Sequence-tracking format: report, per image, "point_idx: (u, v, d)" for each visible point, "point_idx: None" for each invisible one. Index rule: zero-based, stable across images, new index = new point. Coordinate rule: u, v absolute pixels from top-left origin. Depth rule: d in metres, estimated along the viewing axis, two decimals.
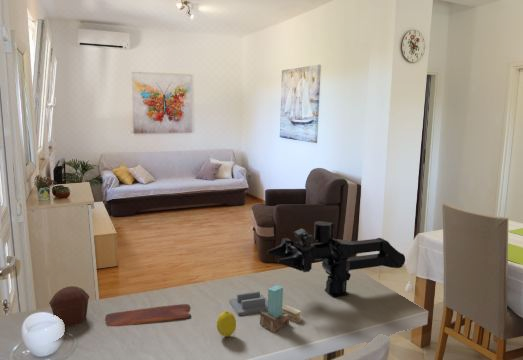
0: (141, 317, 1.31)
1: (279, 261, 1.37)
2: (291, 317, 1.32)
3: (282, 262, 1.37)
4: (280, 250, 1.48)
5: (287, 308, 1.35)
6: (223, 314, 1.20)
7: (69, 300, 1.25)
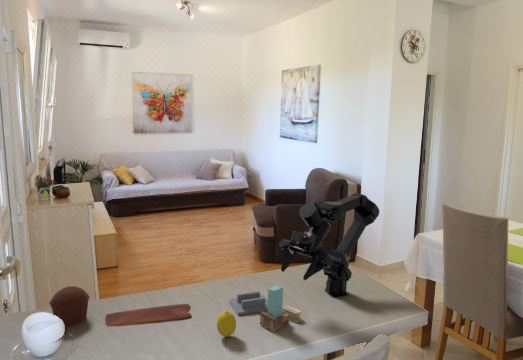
0: (141, 317, 1.31)
1: (305, 278, 1.30)
2: (291, 317, 1.32)
3: (307, 277, 1.30)
4: (288, 258, 1.38)
5: (287, 307, 1.35)
6: (223, 314, 1.20)
7: (69, 300, 1.25)
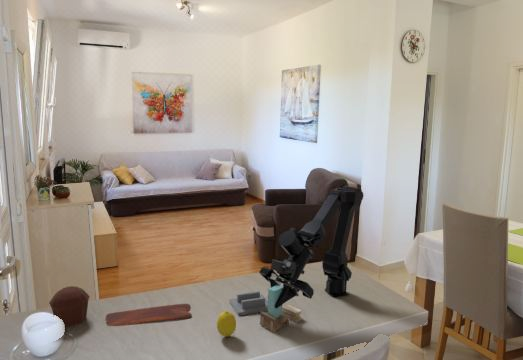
0: (142, 317, 1.31)
1: (276, 306, 1.27)
2: (292, 316, 1.32)
3: (279, 305, 1.27)
4: None
5: (287, 307, 1.35)
6: (223, 314, 1.20)
7: (69, 300, 1.25)
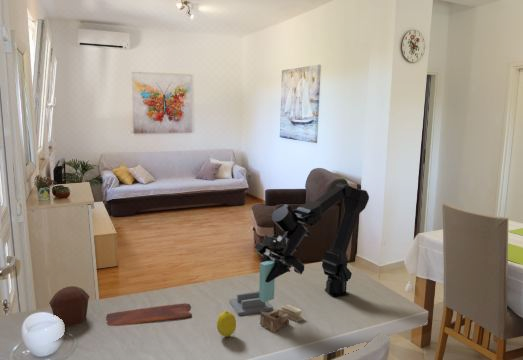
0: (142, 317, 1.31)
1: (267, 281, 1.28)
2: (292, 316, 1.33)
3: (270, 279, 1.28)
4: None
5: (288, 307, 1.36)
6: (223, 314, 1.20)
7: (69, 300, 1.25)
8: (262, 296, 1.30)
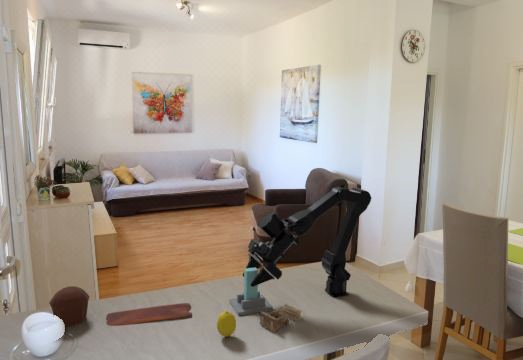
0: (142, 316, 1.31)
1: (252, 285, 1.36)
2: (292, 315, 1.33)
3: (255, 284, 1.35)
4: (252, 265, 1.44)
5: (288, 306, 1.36)
6: (223, 314, 1.20)
7: (69, 300, 1.25)
8: (245, 299, 1.40)
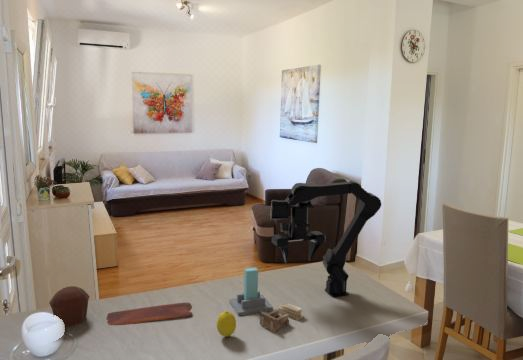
0: (143, 316, 1.32)
1: (285, 262, 1.48)
2: (293, 314, 1.34)
3: (285, 260, 1.48)
4: (310, 247, 1.51)
5: (288, 305, 1.36)
6: (223, 314, 1.20)
7: (69, 300, 1.25)
8: (245, 299, 1.40)
